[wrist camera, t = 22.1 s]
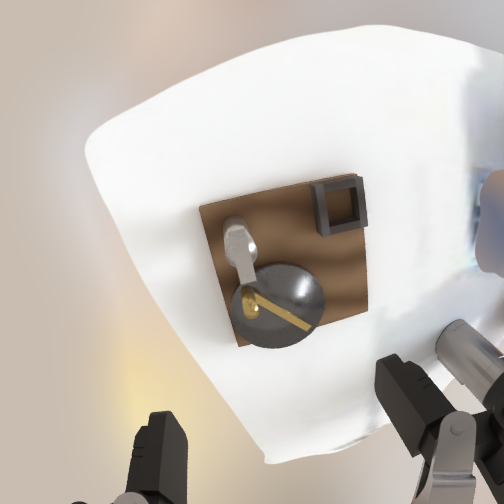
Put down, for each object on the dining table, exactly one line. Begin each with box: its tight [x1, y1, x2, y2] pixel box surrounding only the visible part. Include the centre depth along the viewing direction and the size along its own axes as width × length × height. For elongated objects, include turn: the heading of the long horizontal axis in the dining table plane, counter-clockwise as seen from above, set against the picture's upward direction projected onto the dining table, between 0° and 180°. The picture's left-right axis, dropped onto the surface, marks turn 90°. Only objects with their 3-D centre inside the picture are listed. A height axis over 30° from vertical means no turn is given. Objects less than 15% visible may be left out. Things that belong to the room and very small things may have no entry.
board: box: [199, 173, 368, 347], centre depth 37 cm, size 20×20×3 cm
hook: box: [223, 215, 258, 284], centre depth 30 cm, size 5×3×11 cm, turn 12°
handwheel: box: [231, 261, 325, 349], centre depth 35 cm, size 12×12×6 cm
